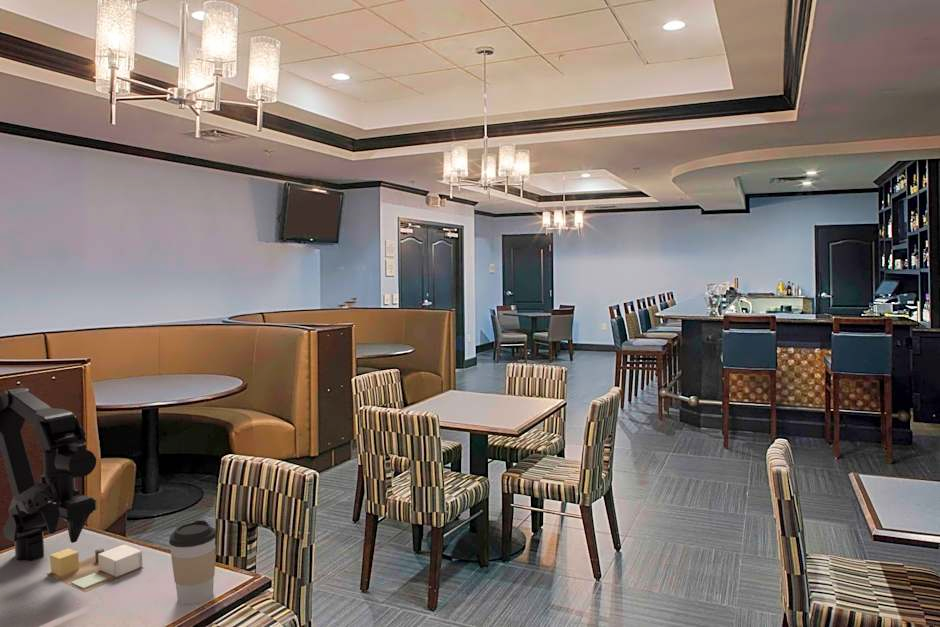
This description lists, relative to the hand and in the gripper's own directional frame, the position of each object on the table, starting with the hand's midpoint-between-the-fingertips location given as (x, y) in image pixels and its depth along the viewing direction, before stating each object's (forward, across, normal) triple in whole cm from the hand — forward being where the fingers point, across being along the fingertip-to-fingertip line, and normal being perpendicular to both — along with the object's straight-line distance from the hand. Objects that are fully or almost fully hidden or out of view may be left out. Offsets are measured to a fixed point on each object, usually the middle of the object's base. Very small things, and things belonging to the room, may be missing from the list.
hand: (63, 537), depth 149 cm
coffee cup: (+9, +34, +9) cm, 36 cm away
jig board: (+9, +6, +4) cm, 11 cm away
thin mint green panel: (+8, +10, 0) cm, 13 cm away
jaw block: (+8, 0, 0) cm, 8 cm away
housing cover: (+7, +10, +7) cm, 14 cm away
